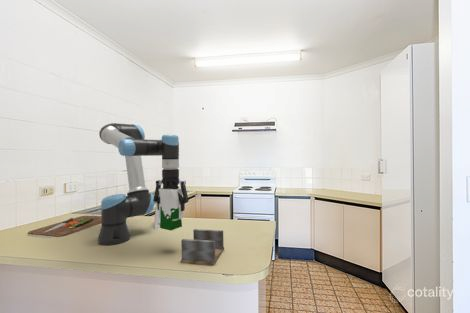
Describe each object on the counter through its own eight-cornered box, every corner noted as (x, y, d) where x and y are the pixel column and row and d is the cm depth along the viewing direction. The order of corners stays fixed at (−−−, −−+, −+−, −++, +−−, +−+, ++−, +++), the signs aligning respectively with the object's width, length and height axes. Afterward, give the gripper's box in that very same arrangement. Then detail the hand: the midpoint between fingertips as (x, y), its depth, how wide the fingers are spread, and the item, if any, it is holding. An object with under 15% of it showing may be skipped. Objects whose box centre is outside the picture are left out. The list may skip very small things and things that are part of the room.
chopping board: (57, 239, 132) (57, 234, 132) (20, 236, 138) (19, 230, 138) (117, 218, 175) (116, 213, 175) (86, 216, 182) (86, 212, 182)
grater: (171, 222, 160) (170, 192, 159) (172, 227, 150) (172, 194, 150) (154, 224, 156) (153, 193, 156) (154, 229, 146) (154, 195, 146)
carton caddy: (180, 262, 100) (180, 241, 100) (195, 247, 116) (195, 228, 116) (213, 265, 97) (213, 243, 97) (224, 249, 114) (223, 229, 113)
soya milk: (171, 223, 118) (171, 182, 118) (185, 226, 113) (184, 183, 113) (156, 228, 111) (156, 184, 110) (170, 231, 106) (170, 185, 105)
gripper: (144, 168, 110) (145, 218, 110) (189, 169, 106) (190, 221, 106) (153, 167, 117) (153, 214, 118) (196, 168, 113) (196, 216, 113)
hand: (171, 217), depth 112 cm, fingers closed on soya milk, 9 cm apart
